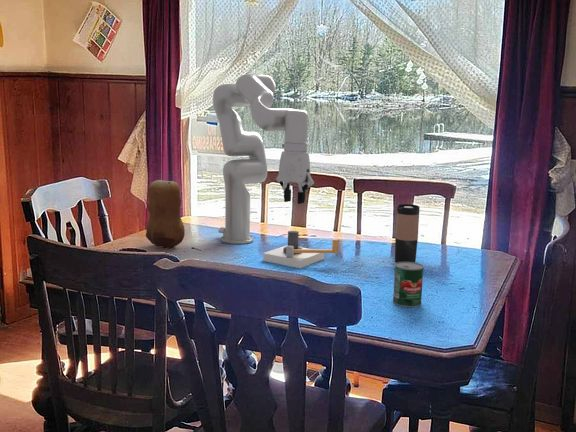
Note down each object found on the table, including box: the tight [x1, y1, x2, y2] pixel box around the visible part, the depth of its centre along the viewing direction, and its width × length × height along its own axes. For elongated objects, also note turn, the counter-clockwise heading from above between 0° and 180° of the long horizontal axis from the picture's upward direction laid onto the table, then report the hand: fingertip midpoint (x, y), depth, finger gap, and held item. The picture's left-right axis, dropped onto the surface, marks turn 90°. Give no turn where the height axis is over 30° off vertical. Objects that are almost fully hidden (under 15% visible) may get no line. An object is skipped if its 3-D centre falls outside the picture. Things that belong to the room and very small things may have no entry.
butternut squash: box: [145, 179, 186, 249], centre depth 230 cm, size 14×13×25 cm
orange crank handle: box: [285, 238, 339, 257], centre depth 208 cm, size 2×17×6 cm, turn 94°
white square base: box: [262, 244, 325, 269], centre depth 214 cm, size 15×15×4 cm
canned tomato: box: [392, 262, 425, 308], centre depth 176 cm, size 8×8×11 cm
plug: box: [283, 230, 302, 255], centre depth 214 cm, size 6×6×10 cm
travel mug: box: [394, 203, 420, 264], centre depth 218 cm, size 8×8×20 cm
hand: (294, 201), depth 211 cm, fingers open, 4 cm apart
